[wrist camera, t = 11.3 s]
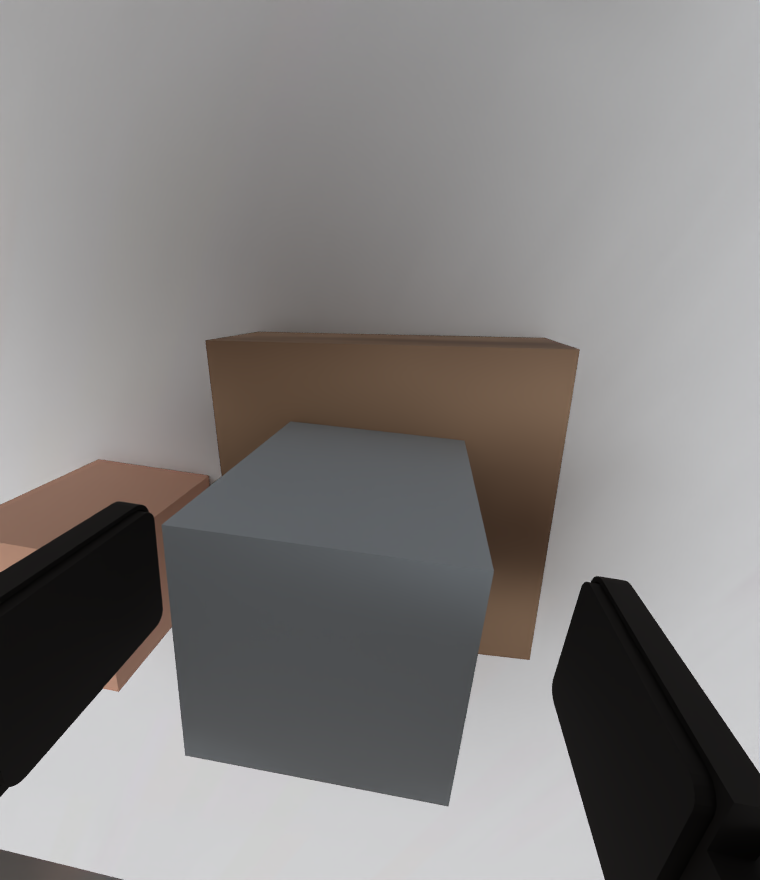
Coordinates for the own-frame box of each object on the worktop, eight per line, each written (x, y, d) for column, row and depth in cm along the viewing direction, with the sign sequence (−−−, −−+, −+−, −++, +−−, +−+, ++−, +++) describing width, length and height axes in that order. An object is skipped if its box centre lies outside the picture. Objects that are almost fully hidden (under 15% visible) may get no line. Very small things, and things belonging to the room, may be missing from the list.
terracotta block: (99, 459, 18) (-60, 532, 12) (209, 475, 17) (98, 559, 12) (113, 557, 19) (-21, 663, 14) (214, 575, 19) (118, 691, 13)
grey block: (290, 421, 12) (161, 524, 6) (464, 440, 12) (493, 570, 6) (289, 567, 14) (185, 755, 8) (442, 589, 13) (448, 806, 7)
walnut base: (262, 331, 15) (205, 340, 12) (542, 336, 14) (579, 349, 10) (280, 561, 19) (239, 627, 15) (509, 582, 17) (529, 659, 14)
